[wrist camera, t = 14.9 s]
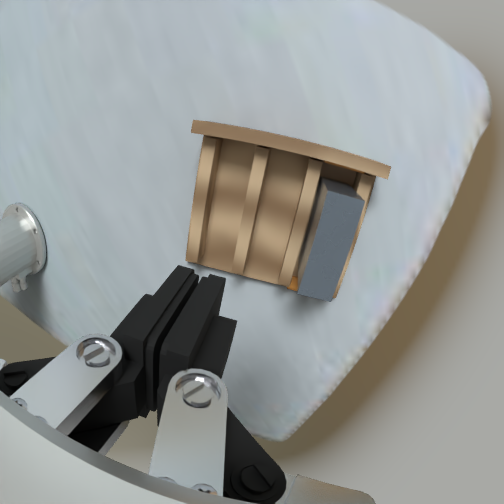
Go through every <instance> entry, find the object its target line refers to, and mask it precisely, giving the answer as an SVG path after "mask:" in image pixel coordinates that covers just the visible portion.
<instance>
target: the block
mask: <svg viewBox="0 0 504 504" xmlns="http://www.w3.org/2000/svg"><path fill="white" fill-rule="evenodd" d="M364 204H365V201H364V199H363V198H362V197H361V196H360V195H359V194H358V193H357V192H356V191H355V190H354V189H353V188H352V187H351V186H350V185H349V184H347V183H343V182H340V181H336V180H333V179H329V178H326V177H322V176H320V180H319V184H318V188H317V192H316V195H315V199H314V203H313V207H312V210H311V214H310V218H309V222H308V225H307V229H306V232H305V236H304V240H303V243H302V247H301V250H300V254H299V260H298V289H297V294H300V295H304V296H308V297H312V298H317V299H321V300H325V301H329V302H331V300H332V297H333V295H334V292H335V290H336V287H337V284H338V281H339V279H340V276H341V273H342V270H343V268H344V265H345V262H346V259H347V256H348V253H349V250H350V247H351V245H352V242H353V239H354V235H355V232H356V229H357V226H358V223H359V220H360V217H361V213H362V210H363V207H364Z"/></svg>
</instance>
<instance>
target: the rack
mask: <svg viewBox="0 0 504 504" xmlns="http://www.w3.org/2000/svg"><path fill="white" fill-rule="evenodd" d="M191 133H197V134H203V135H204V137H203V142H202V148H201V154H200V160H199V166H198V172H197V178H196V185H195V191H194V198H193V205H192V212H191V220H190V227H189V235H188V243H187V252H186V261H189V262H192V263H196V264H200V265H204V266H207V267H211V268H215V269H219V270H223V271H227V272H230V273H234V274H238V275H242V276H246V277H250V278H254V279H258V280H262V281H266V282H270V283H274V284H278V285H282V286H286V287H287V289H291V290H295V291H297V289H298V260H299V254H300V250H301V247H302V243H303V240H304V236H305V232H306V229H307V225H308V222H309V218H310V214H311V210H312V207H313V203H314V199H315V195H316V192H317V188H318V184H319V180H320V176H322V177H326V178H329V179H333V180H336V181H340V182H343V183H347V184H349V185H350V186H351V187H352V188H353V189H354V190H355V191H356V192H357V193H358V194H359V195H360V196H361V197H362V198H363V199H364V201H365V204H364V207H363V210H362V213H361V217H360V220H359V223H358V226H357V229H356V232H355V235H354V239H353V242H352V245H351V247H350V250H349V253H348V256H347V259H346V262H345V265H344V268H343V270H342V273H341V276H340V279H339V281H338V284H337V287H336V290H335V292H334V295H333V297H332V298H336V296H337V293H338V291H339V288H340V285H341V283H342V280H343V277H344V275H345V272H346V269H347V266H348V264H349V261H350V258H351V255H352V252H353V249H354V246H355V243H356V240H357V237H358V234H359V231H360V228H361V225H362V222H363V219H364V216H365V212H366V209H367V206H368V202H369V199H370V196H371V192H372V189H373V185H374V182H375V178H376V176H379V177H382V178H385V179H388V176H389V173H390V169H391V167H390V166H388V165H385V164H383V163H380V162H377V161H374V160H371V159H368V158H365V157H362V156H358V155H355V154H352V153H348V152H345V151H342V150H338V149H335V148H331V147H327V146H324V145H320V144H316V143H312V142H308V141H304V140H300V139H296V138H292V137H288V136H283V135H279V134H274V133H269V132H265V131H260V130H255V129H250V128H244V127H239V126H233V125H227V124H221V123H215V122H208V121H199V120H193V123H192V129H191Z"/></svg>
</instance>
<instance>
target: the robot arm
mask: <svg viewBox="0 0 504 504" xmlns="http://www.w3.org/2000/svg"><path fill="white" fill-rule="evenodd" d="M45 259H46V244H45V239H44V235H43V232H42V229H41V227H40V224H39V222H38V220H37V219H36V217H35V215H34V214H33V213H32V211H31V210H30V209H29V208H28V207H26V206H25V205H23V204H21V203H15V204H12V205H10V206H8V207H7V208H6V210H5V211H4V214H3V217H2V219H0V286H2V285H3V284H5V283H6V282H8V281H9V280H12V287H13V291H14V292H20V291H21V290H26V289H27V288H28V286H27V281H26V275H28V274H35V273H37V272H39V271H40V270H41V269H42V268H43V266H44V264H45ZM198 281H199V275H196V274H194V269H190V268H187V267H183V266H180V265H178V266H177V267H176V268H175V270H174V271H173V272H172V273H171V275H170V276H169V277H168V278H167V279H166V281H165V282H164V283H163V284H162V285H161V287H160V288H159V289H158V290H157V292H156V293H155V294H154V295H153V296H152V295H149V294H145V295H144V296H143V297H142V298H141V299H140V301H139V302H138V303H137V304H136V305H135V307H134V308H133V309H132V310H131V311H130V312H129V314H128V315H127V316H126V317H125V318H124V320H123V321H122V322H121V323H120V325H119V326H118V327H117V328H116V329H115V331H114V332H113V333H112V334H111V336H110V337H109V336H107V335H103V334H89V335H85V336H82V337H81V338H79V339H77V340H76V341H75V342H74V343H72V344H71V345H70V346H69V347H68V348H66V349H65V350H64V351H63V352H62V353H61V354H59V355H58V356H57V357H51V358H45V359H38V360H30V361H23V362H15V363H11V364H7V362H6V361H5V360H3V359H0V504H376V503H375V501H374V499H373V498H372V497H371V496H369V495H368V494H366V493H364V492H361V491H357V490H353V489H348V488H344V487H340V486H336V485H332V484H329V483H325V482H321V481H318V480H314V479H311V478H308V477H305V476H301V475H297V476H296V477H295V476H292V475H289V474H286V473H284V472H283V471H282V470H281V468H280V467H279V466H278V465H277V464H276V462H275V461H274V460H273V459H272V458H271V457H270V456H269V455H268V454H267V453H266V452H265V451H264V449H263V448H262V447H261V446H260V445H259V444H258V443H257V441H255V439H254V438H253V437H252V436H251V434H250V433H249V432H248V431H247V430H246V429H245V427H244V426H243V425H242V424H241V423H240V421H239V420H238V419H237V418H236V417H235V415H234V414H233V413H232V412H231V410H230V409H229V408H228V407H227V401H228V392H227V387H226V385H225V384H224V382H223V381H222V380H221V378H222V375H223V371H224V368H225V365H226V362H227V358H228V355H229V351H230V347H231V344H232V340H233V336H234V332H235V328H236V324H237V321H236V320H233V319H229V318H225V317H222V316H219V311H220V306H221V301H222V296H223V292H224V287H225V282H226V278H223V277H219V276H216V275H212V274H210V275H209V276H208V278H207V277H202V279H201V280H200V282H199V283H198ZM156 409H157V419H158V432H157V436H156V440H155V445H154V450H153V454H152V459H151V463H150V469H149V473H148V474H145V473H143V472H140V471H138V470H136V469H133V468H131V467H128V466H126V465H124V464H121V463H119V462H117V461H114V460H112V459H110V458H108V457H106V456H105V455H106V454H107V452H108V451H109V450H110V448H111V447H112V446H113V445H114V443H115V442H116V441H117V439H118V438H119V437H120V436H121V434H122V433H123V432H124V430H125V429H126V427H127V426H128V424H129V421H130V420H131V419H135V418H138V416H142V417H145V418H146V417H147V415H148V413H149V411H150V410H151V411H156Z"/></svg>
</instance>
